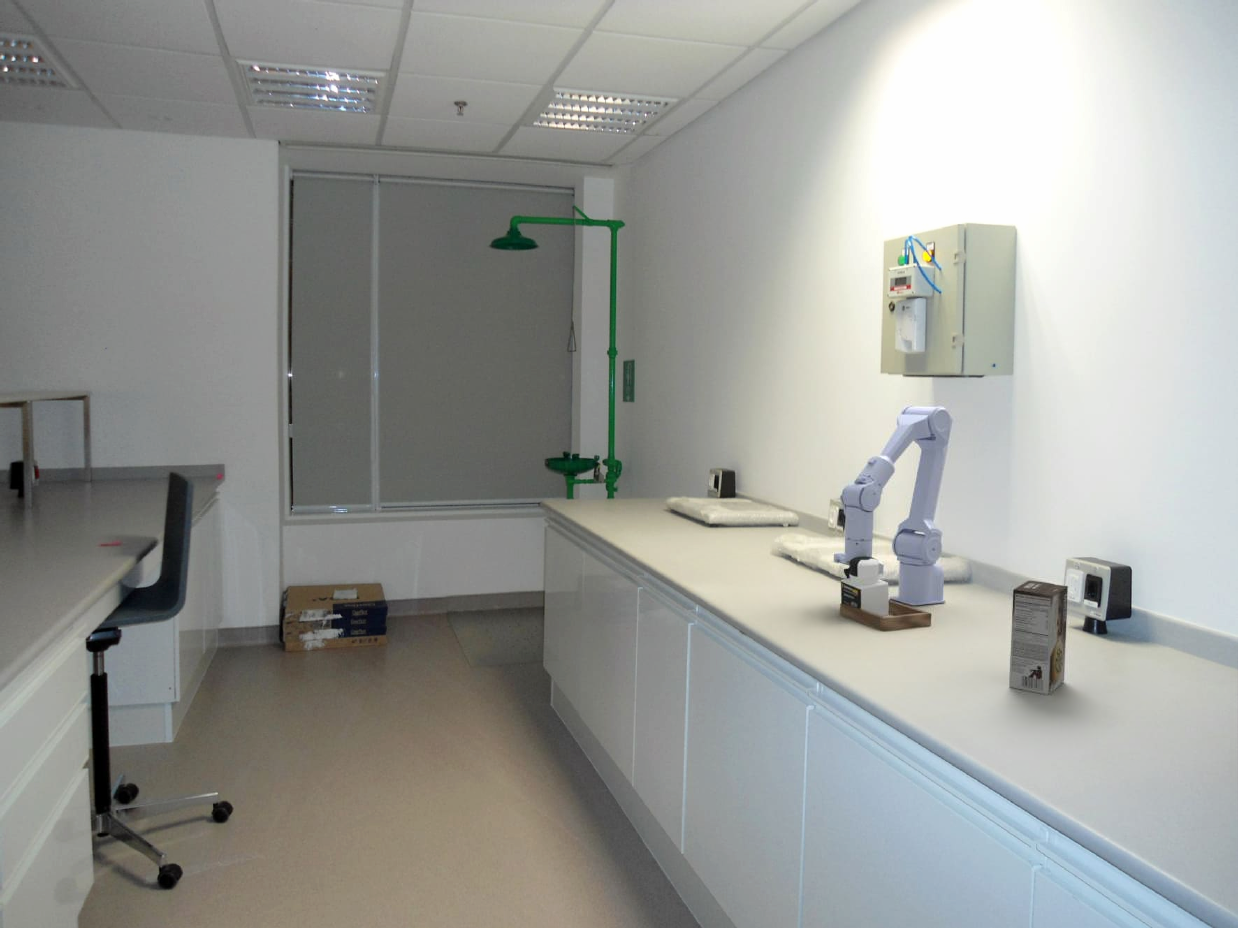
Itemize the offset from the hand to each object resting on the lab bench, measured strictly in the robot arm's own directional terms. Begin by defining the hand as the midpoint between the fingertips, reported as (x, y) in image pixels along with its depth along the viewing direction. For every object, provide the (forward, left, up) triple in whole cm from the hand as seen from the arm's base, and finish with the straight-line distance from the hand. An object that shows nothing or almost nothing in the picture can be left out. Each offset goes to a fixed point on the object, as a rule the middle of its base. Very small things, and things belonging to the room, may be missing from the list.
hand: (856, 601), depth 200 cm
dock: (0, +9, -2) cm, 9 cm away
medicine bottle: (+1, +4, -2) cm, 5 cm away
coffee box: (+5, +53, -2) cm, 53 cm away
